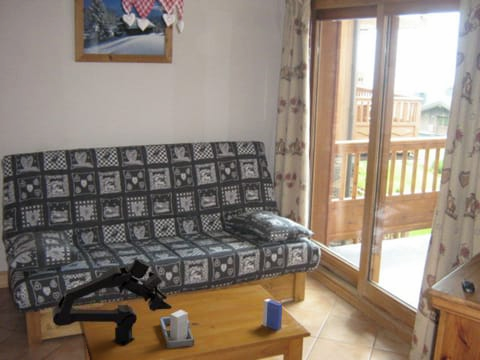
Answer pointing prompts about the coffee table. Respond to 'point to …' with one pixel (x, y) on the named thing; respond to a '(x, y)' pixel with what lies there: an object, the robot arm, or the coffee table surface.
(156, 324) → the coffee table surface
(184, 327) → the skincare box
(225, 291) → the coffee table surface
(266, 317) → the walkman
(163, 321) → the frame
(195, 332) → the coffee table surface
